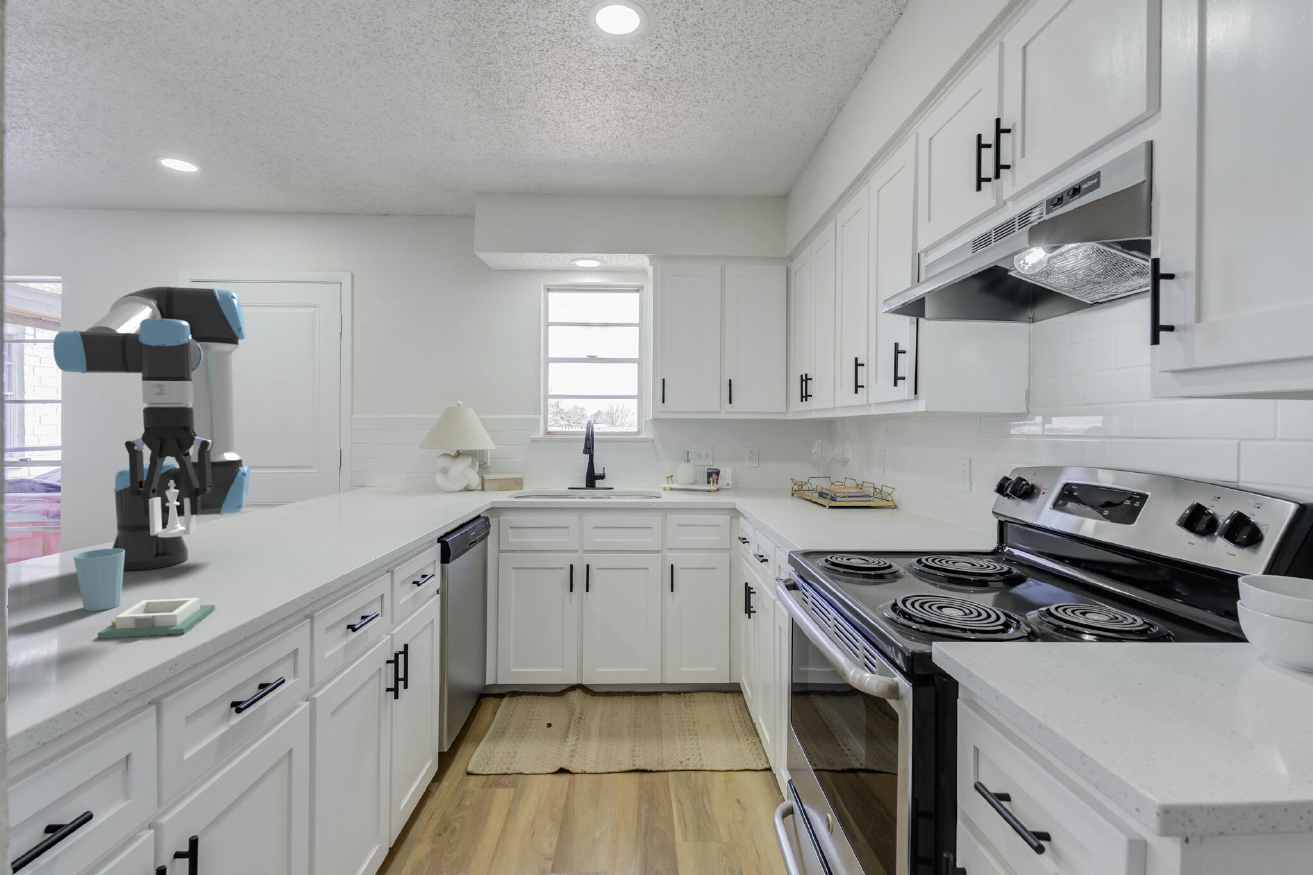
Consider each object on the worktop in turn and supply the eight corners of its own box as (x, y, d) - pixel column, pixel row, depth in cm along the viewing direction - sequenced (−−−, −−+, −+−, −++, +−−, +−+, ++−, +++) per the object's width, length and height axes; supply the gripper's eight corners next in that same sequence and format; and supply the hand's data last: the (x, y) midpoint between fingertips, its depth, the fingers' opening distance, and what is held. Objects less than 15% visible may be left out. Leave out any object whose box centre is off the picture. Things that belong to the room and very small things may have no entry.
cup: (121, 610, 134) (118, 555, 133) (70, 615, 131) (67, 559, 130) (132, 598, 141) (129, 546, 140) (84, 603, 138) (81, 550, 137)
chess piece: (165, 538, 127) (163, 482, 126) (152, 535, 129) (149, 480, 129) (195, 533, 131) (193, 479, 130) (181, 530, 134) (179, 477, 133)
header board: (137, 613, 132) (136, 597, 132) (214, 609, 135) (214, 594, 135) (98, 638, 120) (97, 621, 119) (184, 634, 122) (183, 617, 122)
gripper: (100, 406, 123) (106, 539, 125) (215, 406, 127) (220, 535, 128) (122, 405, 130) (128, 530, 132) (230, 405, 134) (235, 527, 136)
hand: (173, 532), depth 130 cm, fingers closed on chess piece, 5 cm apart
